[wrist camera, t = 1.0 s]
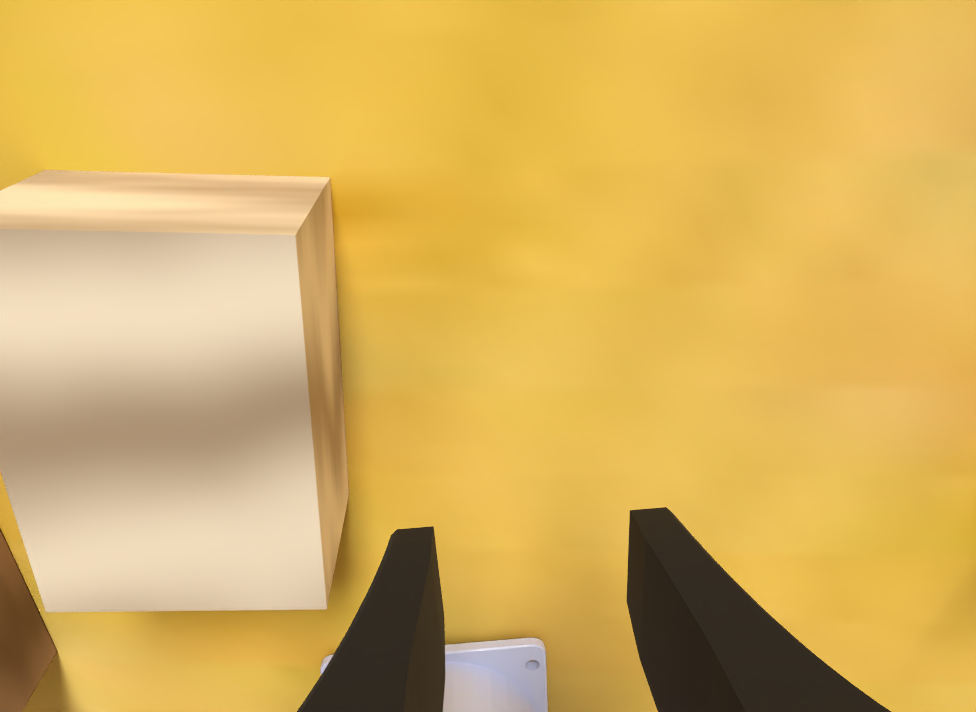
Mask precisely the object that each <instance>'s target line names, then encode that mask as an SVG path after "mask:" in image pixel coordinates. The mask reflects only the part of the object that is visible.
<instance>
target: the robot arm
mask: <svg viewBox="0 0 976 712" xmlns="http://www.w3.org/2000/svg"><path fill="white" fill-rule="evenodd" d="M627 604H628V609H629V613H630V618H631V622H632V627H633V632H634V636H635V640H636V644H637V649H638V653H639V657H640V661H641V664H642V667H643V669H644V672H645V675H646V678H647V681H648V684H649V687H650V690H651V693H652V696H653V698H654V701H655V704H656V707H657V710H658V712H891V711H889V710H888V709H886V708H885V707H883V706H882V705H880V704H879V703H877V702H876V701H875V700H873V699H872V698H870V697H869V696H868V695H866V694H865V693H864V692H862V691H861V690H859V689H858V688H857V687H855V686H854V685H853V684H851V683H850V682H849V681H847V680H846V679H845V678H844V677H842V676H841V675H840V674H838V673H837V672H836V671H835V670H833V669H832V668H831V667H829V666H828V665H827V664H826V663H824V662H823V661H822V660H821V659H820V658H818V657H817V656H816V655H815V654H814V653H812V652H811V651H810V650H809V649H808V648H806V647H805V646H804V645H803V644H802V643H801V642H799V641H798V640H797V639H796V638H795V637H794V636H793V635H791V634H790V633H789V632H788V631H787V630H786V629H785V628H784V627H783V626H781V625H780V624H779V623H778V622H777V621H776V620H775V619H774V618H772V617H771V616H770V615H769V614H768V613H767V612H766V611H765V610H764V609H763V608H762V607H761V606H760V605H759V604H758V603H757V602H756V601H755V600H754V599H753V598H752V597H751V596H750V595H749V594H748V593H747V592H745V591H744V590H743V589H742V588H741V587H740V586H739V585H738V584H737V583H736V582H735V581H734V580H733V579H732V578H731V577H730V576H729V575H728V574H727V572H726V571H725V570H724V569H723V568H722V567H721V566H720V565H719V564H718V563H717V562H716V561H715V560H714V559H713V558H712V557H711V556H710V554H709V553H708V552H707V551H706V550H705V549H704V548H703V547H702V546H701V545H700V544H699V542H698V541H697V540H696V539H695V538H694V537H693V536H692V535H691V534H690V532H689V531H688V530H687V529H686V528H685V527H684V526H683V524H682V523H681V522H680V521H679V520H678V519H677V518H676V516H675V515H674V514H673V513H672V512H671V511H670V510H669V509H667V508H666V507H665V508H653V509H641V510H630V524H629V552H628V580H627ZM531 660H535V661H531ZM320 673H321V676H320V678H319V680H318V681H317V683H316V684H315V686H314V687H313V689H312V690H311V692H310V693H309V695H308V696H307V698H306V699H305V701H304V702H303V704H302V705H301V707H300V708H299V709H298V711H297V712H548V701H547V672H546V651H545V645H544V643H543V642H542V641H541V640H540V639H537V638H519V639H507V640H495V641H483V642H472V643H460V644H448V645H445V631H444V611H443V603H442V594H441V586H440V578H439V569H438V561H437V553H436V544H435V536H434V528H433V527H422V528H410V529H397V530H396V531H395V532H394V533H393V534H392V535H391V537H390V540H389V543H388V546H387V549H386V551H385V554H384V556H383V559H382V561H381V564H380V566H379V568H378V571H377V573H376V575H375V577H374V580H373V582H372V584H371V586H370V588H369V590H368V592H367V594H366V596H365V598H364V600H363V602H362V604H361V606H360V608H359V610H358V612H357V614H356V616H355V618H354V620H353V622H352V624H351V625H350V627H349V629H348V631H347V633H346V635H345V636H344V638H343V640H342V641H341V643H340V645H339V646H338V648H337V650H336V651H335V653H334V654H333V655H329V656H327V657H325V658H324V659H323V661H322V664H321V672H320Z"/></svg>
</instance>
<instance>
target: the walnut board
mask: <svg viewBox="0 0 976 712" xmlns="http://www.w3.org/2000/svg"><path fill="white" fill-rule="evenodd" d="M56 653H57V651H56V648H55V646H54V644H53V642H52V640H51V638H50V636H49V633H48V631H47V629H46V627H45V625H44V623H43V621H42V618H41V616H40V614H39V612H38V610H37V608H36V606H35V603H34V601H33V599H32V597H31V595H30V593H29V591H28V588H27V586H26V584H25V582H24V580H23V578H22V576H21V573H20V571H19V569H18V567H17V565H16V563H15V561H14V558H13V556H12V554H11V552H10V550H9V548H8V546H7V543H6V541H5V539H4V537H3V535H2V533H1V531H0V712H22V711H23V709H24V707H25V706H26V704H27V702H28V701H29V699H30V697H31V695H32V694H33V692H34V690H35V689H36V687H37V685H38V683H39V682H40V680H41V678H42V677H43V675H44V673H45V671H46V670H47V668H48V666H49V665H50V663H51V661H52V659H53V658H54V656H55V654H56Z"/></svg>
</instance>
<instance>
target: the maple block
mask: <svg viewBox="0 0 976 712" xmlns="http://www.w3.org/2000/svg"><path fill="white" fill-rule="evenodd" d="M0 471H1V474H2V478H3V481H4V484H5V487H6V490H7V493H8V496H9V499H10V502H11V505H12V509H13V512H14V515H15V518H16V521H17V524H18V527H19V530H20V533H21V536H22V539H23V543H24V546H25V549H26V552H27V555H28V558H29V561H30V564H31V567H32V570H33V574H34V577H35V580H36V583H37V586H38V589H39V592H40V595H41V598H42V601H43V604H44V608H45V611H46V612H119V611H215V610H312V609H327V606H328V601H329V596H330V591H331V585H332V580H333V575H334V570H335V565H336V559H337V554H338V549H339V544H340V539H341V533H342V528H343V523H344V518H345V512H346V507H347V502H348V497H349V486H348V469H347V452H346V435H345V418H344V401H343V385H342V368H341V351H340V334H339V317H338V300H337V283H336V266H335V249H334V232H333V216H332V199H331V182H330V177H299V176H260V175H221V174H182V173H143V172H104V171H65V170H44V171H42V172H40V173H38V174H35V175H33V176H31V177H29V178H27V179H25V180H22V181H20V182H18V183H16V184H14V185H12V186H9V187H7V188H5V189H3V190H1V191H0Z"/></svg>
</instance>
